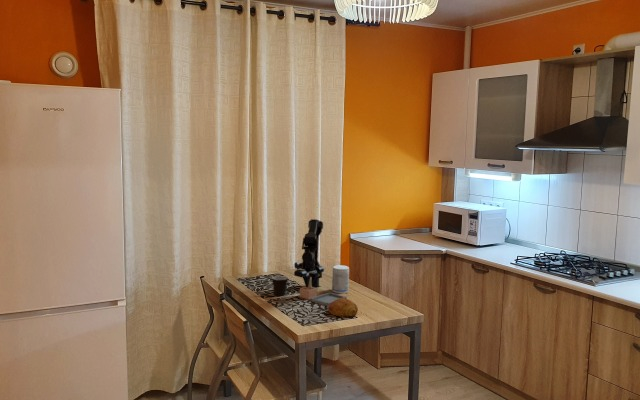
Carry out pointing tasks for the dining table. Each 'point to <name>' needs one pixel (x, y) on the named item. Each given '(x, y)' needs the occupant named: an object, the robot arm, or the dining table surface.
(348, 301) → the croissant
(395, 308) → the dining table surface
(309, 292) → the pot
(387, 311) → the dining table surface
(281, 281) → the coffee mug
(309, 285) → the dowel
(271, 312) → the dining table surface
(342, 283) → the supplement tub
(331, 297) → the tray
